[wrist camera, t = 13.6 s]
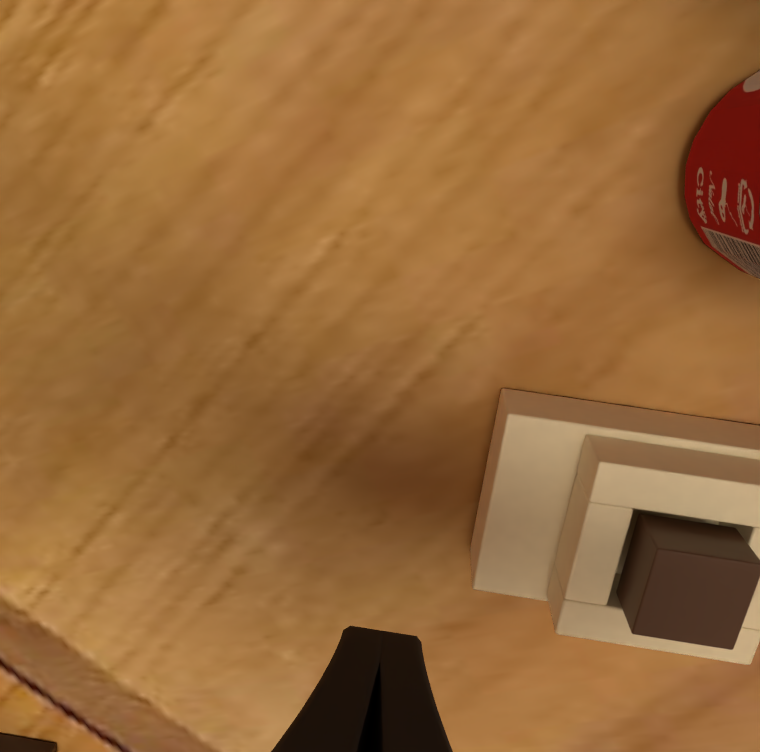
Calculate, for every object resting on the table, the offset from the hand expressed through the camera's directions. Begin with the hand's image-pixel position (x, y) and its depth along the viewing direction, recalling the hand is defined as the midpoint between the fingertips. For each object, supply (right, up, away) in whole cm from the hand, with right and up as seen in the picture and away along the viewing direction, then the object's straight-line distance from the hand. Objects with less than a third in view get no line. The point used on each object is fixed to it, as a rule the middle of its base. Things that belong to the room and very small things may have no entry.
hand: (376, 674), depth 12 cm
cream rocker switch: (+8, +2, +10) cm, 13 cm away
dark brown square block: (+8, 0, +6) cm, 10 cm away
